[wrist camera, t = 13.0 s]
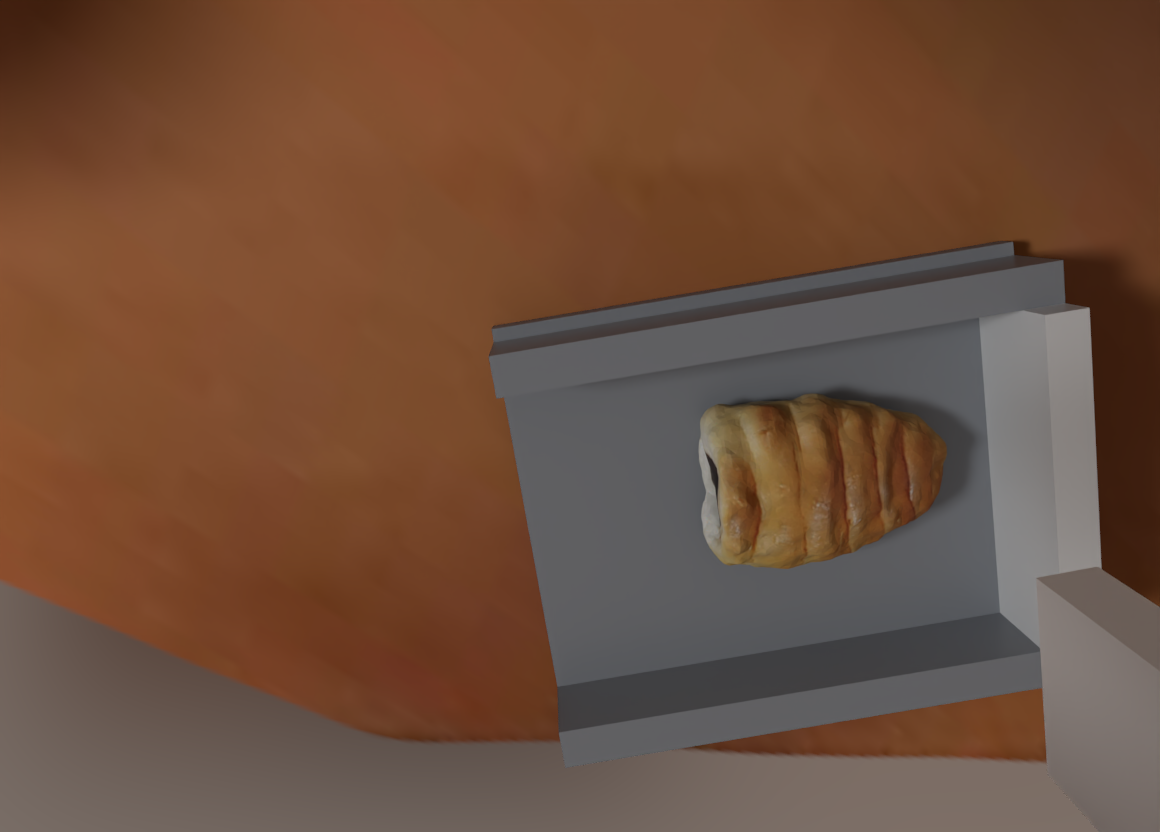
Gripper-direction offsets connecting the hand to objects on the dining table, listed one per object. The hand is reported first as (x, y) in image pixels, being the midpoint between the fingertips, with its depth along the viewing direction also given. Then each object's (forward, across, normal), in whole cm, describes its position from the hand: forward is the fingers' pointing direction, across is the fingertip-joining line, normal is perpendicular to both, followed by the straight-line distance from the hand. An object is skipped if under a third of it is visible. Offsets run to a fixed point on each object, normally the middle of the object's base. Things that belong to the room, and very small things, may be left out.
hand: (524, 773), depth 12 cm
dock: (+26, +9, -7) cm, 29 cm away
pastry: (+25, +10, -5) cm, 28 cm away
